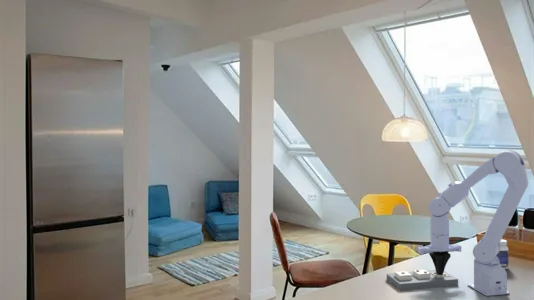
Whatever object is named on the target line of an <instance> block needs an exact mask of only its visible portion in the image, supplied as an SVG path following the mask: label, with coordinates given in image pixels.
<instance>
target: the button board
mask: <svg viewBox="0 0 534 300" xmlns="http://www.w3.org/2000/svg"><path fill="white" fill-rule="evenodd" d="M426 271H427V272H429V273H430V278H428V279H417V278H416V277H414V276H413V271H407V272H408V273H410V274H411V275H412V280H404V281H399V280H398V279H397V278H395V272H393V273H386V280H387V281H388V282H389V283H391V284H392V285H393V286H394V287H395V286H396V287H395V288H396V289H398V290H400V291H405V290H418V289H430V288H441V287H452V286H453V287H454V286H459V279H458V278H457V277H455V276H453V275H452V274H450V273H448V272H447V271H445V270H444V273H445V274H446V275H448V276H449V277H440V278H437V277H435V276H433V275H432V274H431V273H434V272H436V269H430V270H429V269H428V270H426Z"/></svg>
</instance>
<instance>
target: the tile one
mask: <svg viewBox="0 0 534 300" xmlns="http://www.w3.org/2000/svg"><path fill="white" fill-rule="evenodd" d="M408 272H409V271H407V270H401V271H394V273H395V278H397V279H398V280H399V281H404V280H412V275H411V274H410V273H408Z"/></svg>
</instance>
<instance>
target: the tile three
mask: <svg viewBox="0 0 534 300" xmlns="http://www.w3.org/2000/svg"><path fill="white" fill-rule="evenodd" d="M431 274H432V275H433V276H435V277H437V278H440V277H449V276H448V275H446V274H445V273H443V275H439V274H437V273H436V272H434V273H431Z"/></svg>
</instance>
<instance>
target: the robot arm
mask: <svg viewBox="0 0 534 300" xmlns="http://www.w3.org/2000/svg"><path fill="white" fill-rule="evenodd" d="M498 173H500V174H501V175H502V176H503V177H504V178H505V180H506V183H507V184H508V186H507V187H506V191H504V192H505V193H504V194H503V197H502V198H501V201H500V202H499V205H498V207H497V209H496V211H495V213H494V215H493V216H492V217H493V218H492V219H491V221H490V224H489V225H488V228H487V229H486V231H485V233H484V235H483V236H482V237H481V238H480V240H479V241H478V242H477V244H475V245H474V247H473V249H472V256H473V283H472V282H471V283H467V286H468V287H470V288H472V289H474V290H475V291H477V292H479V293H480V294H483V295H484V296H487V297H488V296H498V295H499V296H500V295H509V294H510V291H508V274H507V271H506V269H504V268H502V267H501V265H500V263H499V262H500V260H499V259H498V257H497V256H496V255H497V254H498V253H499V251H500V241H501V239H503V236H504V234H505V232H506V231H507V228H508V227H509V224H510V222H511V221H512V218H513V216H514V214H515V212H516V210H517V208H518V206H519V205H520V202H521V201H522V198H523V196H524V194H525V193H526V190H527V188H528V186H529V179H528V174H527V170H526V163H525V161H524V159H523V158H522V156H521V155H520V154H519V152H517V151H515V150H512V149H509V150H508V149H507V150H505V151H502V152H499V153H498V154H496V156H494V157H492V158H489V160H487V161H485V162H484V163H482V164H481V165H479V167H478V168H476V169H475V170H474V171H473V172H471V173H470V174H469V175H468V176H467V177H466V178H465V179H464V180H462V181H454V182H450V183H449V184H447V186H448V187H447V188H446V189H444V190H443V191H442V192H438V194H436V196H437V197H434V198H432V199H431V200H430V202H429V204H428V207H427V208H428V211H429V213H430V221H429V222H430V223H429V224H430V225H429V226H430V234H429V235H430V244H428V245H425V246H419V247H418V246H417V253H418V254H419V255H424V254H429V257H430V259H431V260H432V262H433V265H434V270H436V273H437V274H439V275H443V273H444V271H445V269H446V265H447V263H448V262H449V259H450V258H451V257H452V256H451V253H453V252H458V253H461V252H462V245H460V244H450V220H449V219H450V218H449V212H450V211H451V209H452V208H454V207H456V206H457V205H458V204H459V203H461V202H462V201H463V200H464V199H466V198H467V197H469V192H470V189H471V188H472V187H474V186H475V185H476V184H478V183H479V182H481V181H482V180H483V179H485V178H486V177H487V176H488V175H495V174H498ZM449 252H451V253H449Z"/></svg>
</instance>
